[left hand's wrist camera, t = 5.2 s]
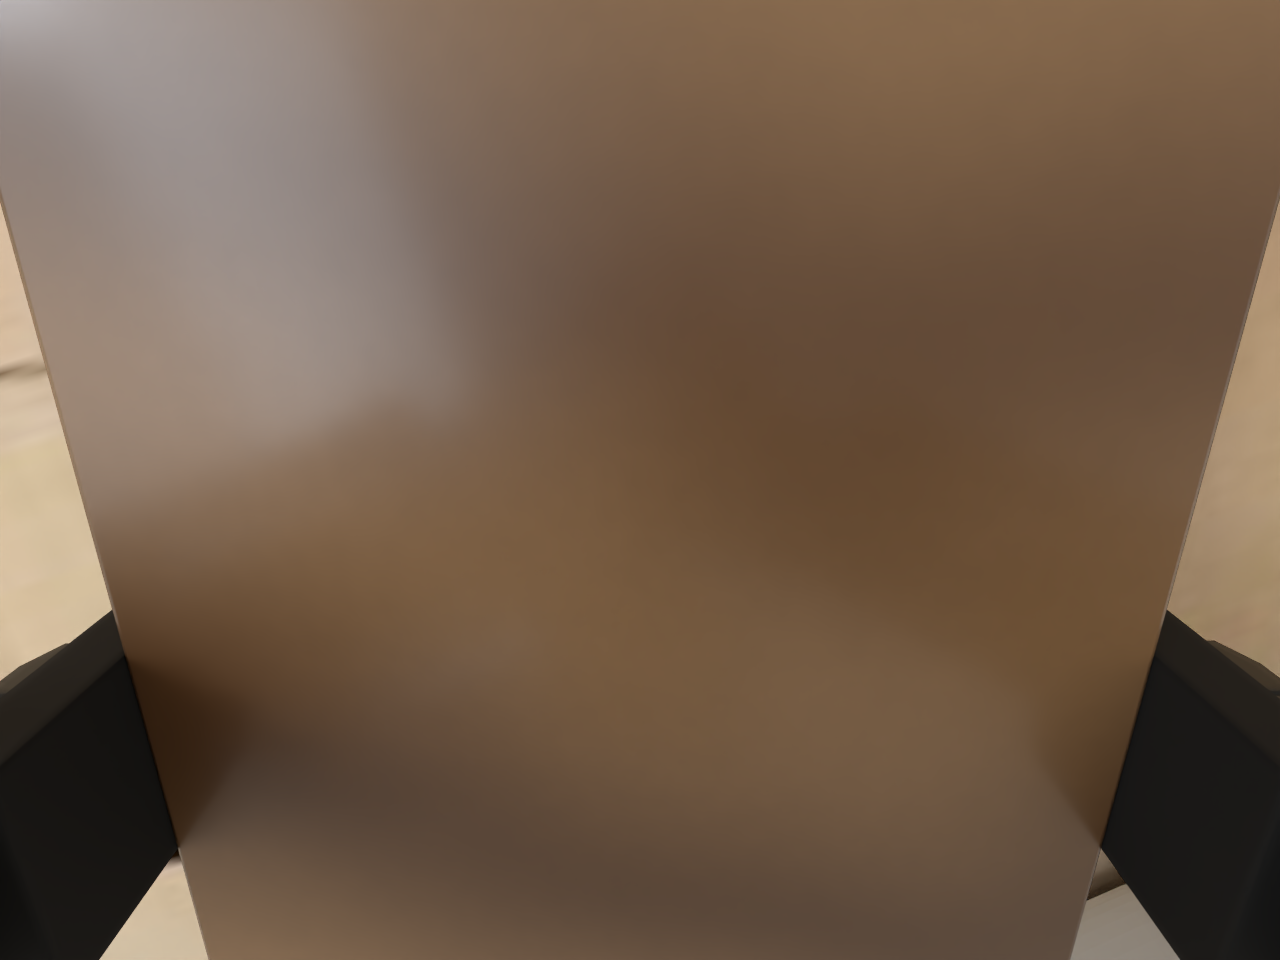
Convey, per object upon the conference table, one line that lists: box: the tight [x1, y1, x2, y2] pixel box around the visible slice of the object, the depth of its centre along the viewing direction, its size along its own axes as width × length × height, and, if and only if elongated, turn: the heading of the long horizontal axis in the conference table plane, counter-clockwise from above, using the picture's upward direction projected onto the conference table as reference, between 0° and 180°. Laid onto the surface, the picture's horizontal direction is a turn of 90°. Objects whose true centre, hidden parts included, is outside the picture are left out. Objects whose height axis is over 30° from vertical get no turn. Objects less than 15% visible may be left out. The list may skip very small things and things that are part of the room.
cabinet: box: [0, 0, 1280, 960], centre depth 12 cm, size 20×11×12 cm, turn 0°
